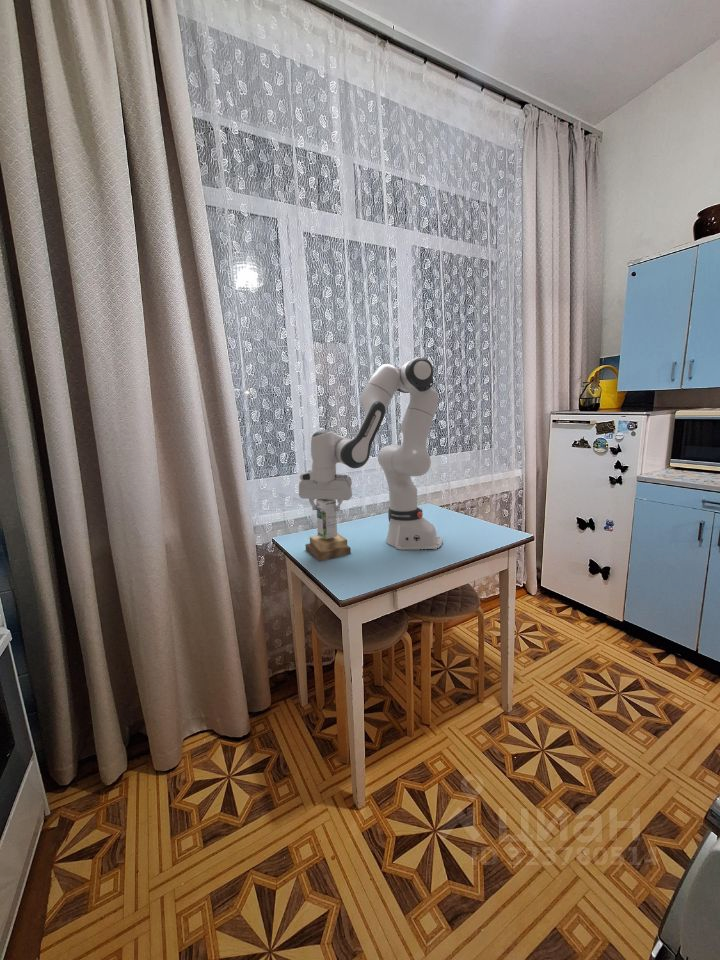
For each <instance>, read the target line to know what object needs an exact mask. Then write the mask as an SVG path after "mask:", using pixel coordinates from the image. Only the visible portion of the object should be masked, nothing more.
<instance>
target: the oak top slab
mask: <svg viewBox="0 0 720 960" xmlns="http://www.w3.org/2000/svg"><path fill="white" fill-rule="evenodd" d="M309 543H310V544H311V545H312V546H313V547H314V548H315V549H316V550H317V551H319V552H320V553H323V552H328V551H333V550H337V549H342V548H347V546H348V539H347V538H345V537H344V536H343V535H341V534H340V533H339V532H337V536H336V537H332V538H328V539H323V538H321V537H320V536H318V534H317V535H312V536H311V535H310V536H309Z"/></svg>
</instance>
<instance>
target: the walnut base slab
mask: <svg viewBox="0 0 720 960" xmlns="http://www.w3.org/2000/svg"><path fill="white" fill-rule="evenodd" d="M304 546H305V551H306V550H307V551H306V552H307V553H309V554H310V555H311V556H313V557H314V558H315V559H316V560H317V561H318V562H323V561H327V560H330V559H334V558H339V557H342V556H346V555H349V554H350V555H351V550H352V549H351V547H350V546H349V545H347V548H342V549H337V550H333V551H328V552H323V553H320V552H319V551H317V550H316V549H315V548H314V547H313V546H312V545H311V544H310V542H309V543H306V544H305V545H304Z"/></svg>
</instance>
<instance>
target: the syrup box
mask: <svg viewBox="0 0 720 960" xmlns="http://www.w3.org/2000/svg"><path fill="white" fill-rule="evenodd" d="M315 501H316V502H315V504H316V506H317V510H316V527H317V528H316V530H317V535H318V536H320V537H321V538H323V539H328V538H332V537H336V536H337V533H338V525H337V522H338V520H337V511H335V506H337V500H328V499H315Z"/></svg>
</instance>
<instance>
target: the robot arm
mask: <svg viewBox="0 0 720 960" xmlns="http://www.w3.org/2000/svg"><path fill="white" fill-rule="evenodd" d="M434 382H435V381H434V367H433V365H432V363H431V361H430V360H429V359H427V358H425V357H415V358H412V359H410V360H409V361H407V362H405V363H404V364H403V365H401V366H399V368H398V367H395V366H394V365H391V364H388V363H387V364H386V363H384V364H381V365H379V367H378V368H377V369H376V370H375V371H374V372H373V374H372V375H371V377H370V378H369V379H368V381H367V383H366V384H365V386H364V388H363V390H362V392H361V395H360V398H359V402H360V406H361V408H362V409H363V410H364V413H365V415H364V419H363V420H362V423H361V425H360V426H359V429H358V432H357V433H356V435H355V436H354V437H353V438H349V437H344V436H342V435H339V434H337V433H335V432H334V431H332V430H331V429H323V430H319V431H316V432H315V433H313V434H312V436H311V440H310V456H311V460H312V464H311V469H310V470H308V471H306V472H303V473H302V474H300V475H299V480H300V481H299V483H298V496H299V498H300V499H301V500H302V499H303V500H304V499H305V500H307V499H308V501H309V504H310V505H311V506H312V508H311V509H312V511H317V506H316V502H315V501H316V500H317V499H328V500H336V503H338V504H337V505H336V506H335V511H336V512H340V511H341V506H342V504H343V501H349V500H351V499H352V497H353V490H352V484H353V483H352V477H350V476H349V475H347V474H337V463H341V464H343V465H345V466H347V467H349V468H351V469H359V468H362V467H364V465H366V464H367V462H368V460H369V458H370V455H371V449H372V445H373V442H374V440H375V439H376V438H375V437H376V436H377V434H378V432H379V429H380V428H381V424H382V422H383V420H384V417H385V415H386V411H387V409H388V406H389V404H390V403H391V401H392V399H393V397H394V396H395V393H396V392H400V393H403V394H409V403H408V406H407V408H406V409H405V412H404V416H403V418H402V421H401V423H400V427H399V428H400V431H401V434H402V437H403V438H402V444H401V445H399V444H390V445H385V446H383V447H382V448H381V449H379V451H378V454H377V461H378V465H379V466H380V467H381V468H382V470H383V472H384V475H385V478H386V482H387V486H388V487H387V488H388V492H389V493H388V497H389V499H388V500H389V507H388V510H387V512H388V513H387V516H388V531H387V535H386V540H385V541H386V543H387V545H389V546H392V547H394V548H395V549H397V550H405V551H406V550H413V551H414V550H416V551H417V550H420V549H422V550H423V549H425V550H426V549H433V550H438V549H440V548H441V547H442V545H443V538H442V537H441V536H440V535H438V534H437V530H436V527H435V525H434V524H433V523H431V522H430V521H429V520H428V519H426V518H424V517H423V515H424V514H423V508H420V507H418V489H417V487H416V485H415V484H414V482H413V480H412V477H422V476H424V475H426V474H427V473H428V472H429V470H430V468H431V464H432V463H431V462H432V461H431V457H430V455H429V453H428V449H427V442H428V437H429V436H428V435H429V432H430V429H431V426H432V423H433V420H434V418H435V414H436V412H437V408H438V403H439V393H438V392H437V390H436V389H435V388H433V387H432V386H433V385H434ZM440 546H441V547H440ZM439 547H440V548H439ZM437 548H438V549H437ZM423 551H424V550H423Z"/></svg>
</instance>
